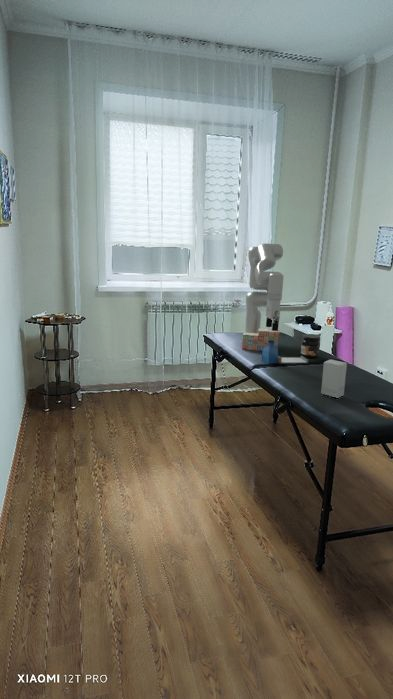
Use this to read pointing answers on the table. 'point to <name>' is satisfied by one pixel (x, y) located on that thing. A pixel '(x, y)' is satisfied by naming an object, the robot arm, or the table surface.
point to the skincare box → (333, 378)
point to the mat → (294, 360)
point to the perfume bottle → (270, 353)
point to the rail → (279, 359)
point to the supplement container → (310, 346)
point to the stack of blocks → (260, 339)
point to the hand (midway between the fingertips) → (271, 328)
